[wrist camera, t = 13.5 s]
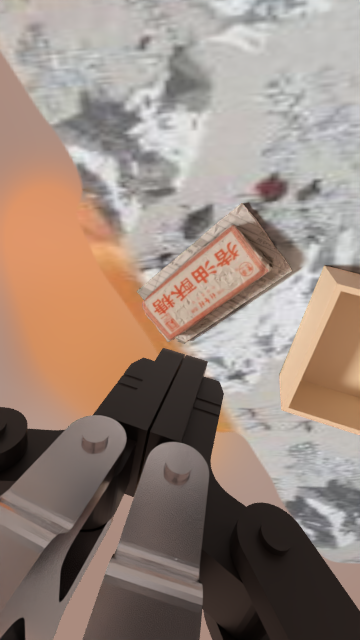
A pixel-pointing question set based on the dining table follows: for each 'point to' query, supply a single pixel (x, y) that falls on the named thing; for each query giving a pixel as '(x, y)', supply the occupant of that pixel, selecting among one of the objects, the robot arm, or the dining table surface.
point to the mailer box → (326, 355)
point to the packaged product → (213, 277)
